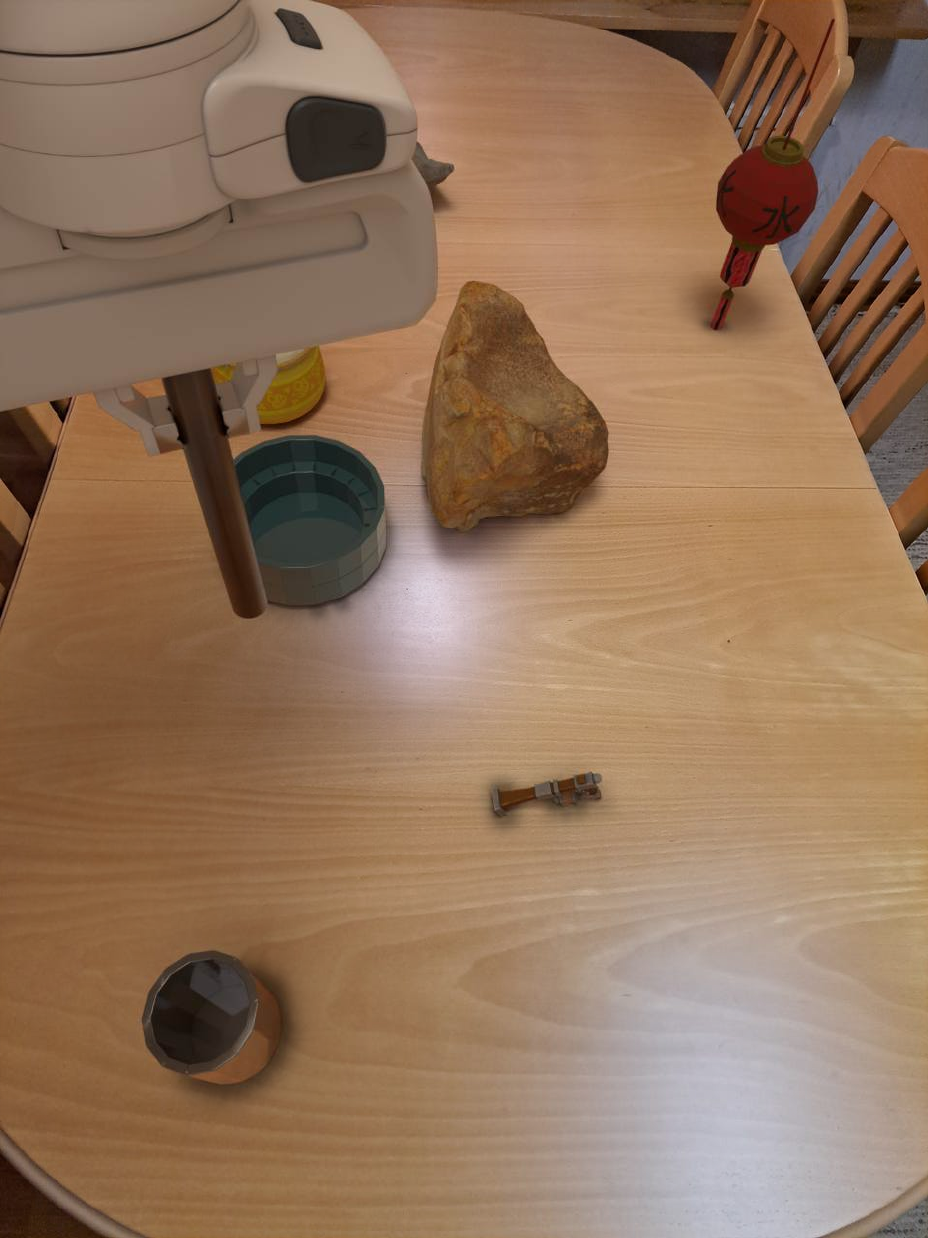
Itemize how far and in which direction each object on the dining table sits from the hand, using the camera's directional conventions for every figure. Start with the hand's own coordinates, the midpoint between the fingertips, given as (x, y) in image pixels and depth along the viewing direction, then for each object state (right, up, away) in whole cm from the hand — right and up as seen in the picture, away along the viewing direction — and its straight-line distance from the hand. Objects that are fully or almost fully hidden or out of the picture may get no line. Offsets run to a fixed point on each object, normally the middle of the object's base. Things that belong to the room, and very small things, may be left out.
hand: (203, 434), depth 36 cm
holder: (-3, -34, +17) cm, 38 cm away
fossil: (+4, +43, +66) cm, 79 cm away
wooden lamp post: (+17, -22, +26) cm, 38 cm away
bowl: (-3, -1, +37) cm, 38 cm away
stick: (-1, -7, +11) cm, 14 cm away
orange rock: (+15, +5, +43) cm, 46 cm away
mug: (-9, +14, +47) cm, 50 cm away
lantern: (+39, +24, +56) cm, 73 cm away
